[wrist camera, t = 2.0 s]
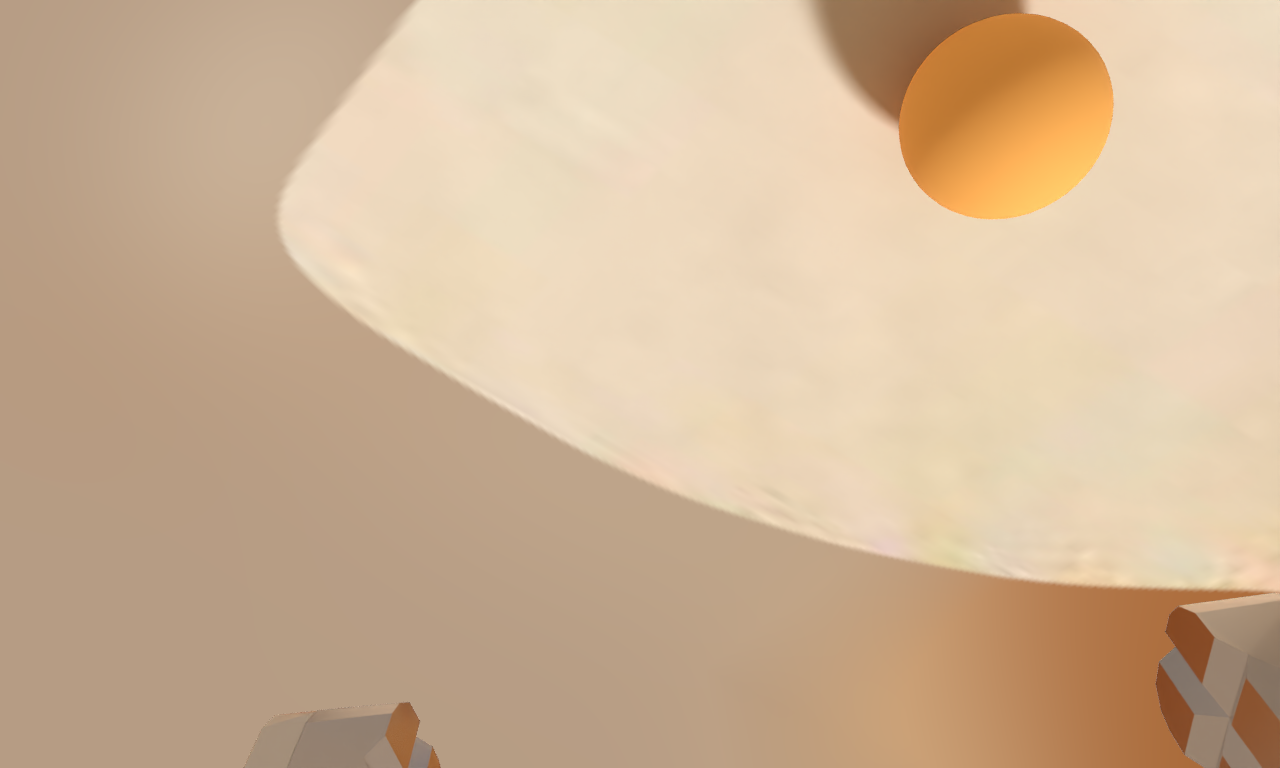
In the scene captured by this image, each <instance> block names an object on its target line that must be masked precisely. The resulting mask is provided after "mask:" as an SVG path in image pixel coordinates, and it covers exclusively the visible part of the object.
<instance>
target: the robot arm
mask: <svg viewBox="0 0 1280 768" xmlns="http://www.w3.org/2000/svg"><path fill="white" fill-rule="evenodd" d="M1165 632H1166V634H1167V635H1168V637H1169V638H1170V639H1171V641H1172V642H1173V644H1174V645H1175V648H1174V649H1173V650H1171V651H1170V653H1168V654H1167V655H1166V656H1165V657H1164V658H1163V659H1162V660H1160V661H1159V665H1158V672H1157V679H1156V688H1157V693H1158V698H1159V703H1160V708H1161V712H1162V714H1163V716H1164V719H1165V721H1166V723H1167V726H1168V728H1169V730H1170V732H1171V733H1172V735H1173V737H1174V739H1175V740H1176V742H1177V743H1178V745H1179V747H1180V748H1181V750H1182V752H1183V753H1184V755H1186V756H1187V757H1189V758H1190V759H1192V760H1193V761H1195V762H1196V763H1198V764H1199V765H1201V766H1203V767H1204V768H1280V594H1278V593H1270V594H1263V595H1255V596H1248V597H1241V598H1234V599H1227V600H1218V601H1211V602H1204V603H1197V604H1189V605H1181V606H1178V607H1177V608H1176V609H1175V610H1174V611H1172V612H1171V614H1170V615H1169V618H1168V623H1167V627H1166V631H1165ZM419 724H420V720H419V718H418V716H417V715H416V713H415V711H414V709H413V707H412V706H411V704H410V702H405V703H391V704H380V705H370V706H359V707H348V708H338V709H327V710H317V711H310V712H300V713H290V714H281V715H274V717H273V718H272V719H271V720H270V721H269V722H268V723H267V724H266V725H265V726H264V727H263V728H262V730H261V732H260V733H259V736H258V738H257V740H256V742H255V745H254V747H253V749H252V751H251V753H250V755H249V757H248V760H247V762H246V764H245V766H244V768H441V767H440V763H439V759H438V757H437V755H436V753H435V751H434V749H433V746H431V745H429V744H427V743H426V742H424V741H422V740H421V739H419V738H417V737H416V735H417V731H418V727H419Z"/></svg>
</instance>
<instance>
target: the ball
mask: <svg viewBox="0 0 1280 768" xmlns="http://www.w3.org/2000/svg"><path fill="white" fill-rule="evenodd" d="M1112 116H1113V90H1112V85H1111V81H1110V77H1109V74H1108V71H1107V69H1106V66H1105V63H1104V62H1103V60H1102V58H1101V56H1100V55H1099V53H1098V52H1097V50H1096V49H1095V48H1094V47H1093V46H1092V44H1091V43H1090V42H1089V41H1088V40H1087V39H1086V38H1085V37H1084V36H1083V35H1081V34H1080V33H1079V32H1078V31H1076V30H1075V29H1073V28H1071V27H1070V26H1068V25H1066V24H1064V23H1062V22H1060V21H1057V20H1055V19H1052V18H1050V17H1045V16H1041V15H1036V14H1022V13H1014V14H1003V15H998V16H993V17H989V18H986V19H983V20H980V21H977V22H974V23H972V24H970V25H968V26H966V27H964V28H962V29H960V30H959V31H957V32H955V33H954V34H952V35H951V36H949V37H948V38H947V39H945V40H944V41H943V42H942V43H940V44H939V45H938V46H937V47H936V48H935V49H934V50H933V51H932V52H931V53H930V54H929V55H928V56H927V58H926V59H925V60H924V61H923V63H922V64H921V65H920V67H919V68H918V70H917V71H916V73H915V75H914V76H913V78H912V80H911V82H910V84H909V86H908V88H907V91H906V94H905V96H904V99H903V102H902V107H901V112H900V120H899V139H900V145H901V151H902V155H903V158H904V161H905V164H906V166H907V168H908V170H909V172H910V174H911V175H912V177H913V179H914V180H915V181H916V183H917V184H918V186H919V187H920V188H921V189H922V190H923V191H924V192H925V193H926V194H927V195H928V196H929V197H930V198H932V199H933V200H934V201H936V202H937V203H938V204H940V205H941V206H943V207H945V208H947V209H949V210H951V211H954V212H956V213H959V214H962V215H965V216H969V217H974V218H980V219H1005V218H1012V217H1018V216H1021V215H1025V214H1028V213H1031V212H1034V211H1036V210H1039V209H1041V208H1043V207H1045V206H1047V205H1049V204H1051V203H1053V202H1055V201H1056V200H1058V199H1059V198H1061V197H1062V196H1064V195H1065V194H1066V193H1068V192H1069V191H1070V190H1071V189H1072V188H1074V187H1075V186H1076V185H1077V184H1078V183H1079V182H1080V181H1081V180H1082V179H1083V178H1084V177H1085V175H1086V174H1087V173H1088V172H1089V170H1090V169H1091V168H1092V166H1093V165H1094V163H1095V162H1096V160H1097V159H1098V157H1099V155H1100V153H1101V151H1102V149H1103V147H1104V145H1105V143H1106V140H1107V137H1108V134H1109V131H1110V126H1111V121H1112Z"/></svg>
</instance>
